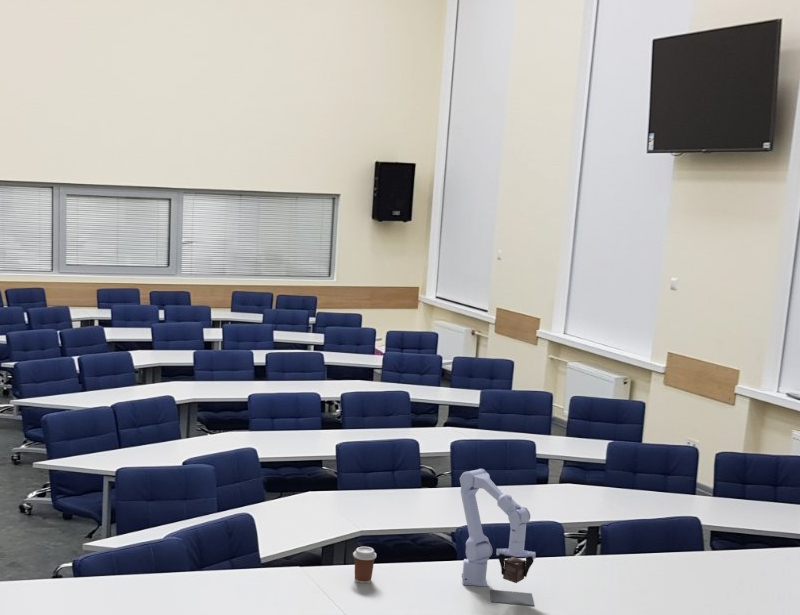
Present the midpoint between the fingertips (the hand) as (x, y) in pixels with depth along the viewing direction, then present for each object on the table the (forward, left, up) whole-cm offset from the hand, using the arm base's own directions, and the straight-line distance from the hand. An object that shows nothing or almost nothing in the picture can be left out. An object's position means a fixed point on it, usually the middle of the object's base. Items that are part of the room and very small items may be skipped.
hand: (513, 574), depth 363 cm
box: (0, 0, -2) cm, 2 cm away
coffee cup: (-57, +4, -9) cm, 58 cm away
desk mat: (0, 0, -9) cm, 9 cm away
